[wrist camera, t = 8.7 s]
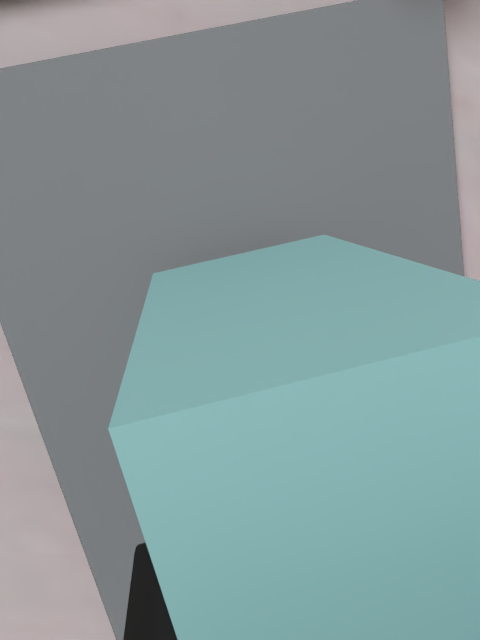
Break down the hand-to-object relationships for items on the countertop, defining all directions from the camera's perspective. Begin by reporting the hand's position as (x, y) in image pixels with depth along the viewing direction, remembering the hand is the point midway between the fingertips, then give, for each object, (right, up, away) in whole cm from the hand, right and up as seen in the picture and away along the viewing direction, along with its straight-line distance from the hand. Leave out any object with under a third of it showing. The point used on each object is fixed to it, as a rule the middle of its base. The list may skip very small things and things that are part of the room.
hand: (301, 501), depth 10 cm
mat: (0, +1, +4) cm, 4 cm away
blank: (0, +1, +2) cm, 2 cm away
